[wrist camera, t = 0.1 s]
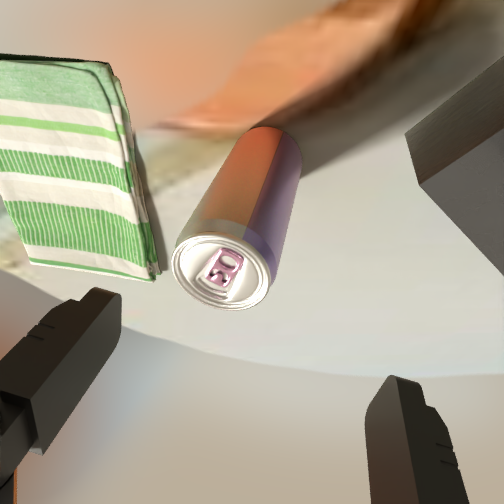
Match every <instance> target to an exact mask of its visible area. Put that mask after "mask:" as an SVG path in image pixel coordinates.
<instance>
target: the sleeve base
mask: <svg viewBox="0 0 504 504" xmlns="http://www.w3.org/2000/svg"><path fill="white" fill-rule="evenodd" d="M405 137H406V141H407V144H408V148H409V151H410V155H411V158H412V162H413V166H414V169H415V173H416V176H417V180H418V183H419V186H420V187H421V188H422V189H423V190H424V191H425V192H426V193H427V194H428V195H429V197H430V198H431V199H432V200H433V201H434V202H435V203H436V204H437V205H438V206H439V207H440V208H441V209H442V210H443V211H444V213H445V214H446V215H447V216H448V217H449V218H450V219H451V220H452V221H453V222H454V223H455V224H456V225H457V226H458V227H459V229H460V230H461V231H462V232H463V233H464V234H465V235H466V236H467V237H468V238H469V239H470V240H471V241H472V242H473V243H474V245H475V246H476V247H477V248H478V249H479V250H480V251H481V252H482V253H483V254H484V255H485V256H486V257H487V258H488V259H489V261H490V262H491V263H492V264H493V265H494V266H495V267H496V268H497V269H498V270H499V271H500V272H501V273H502V274H503V275H504V56H503V57H502V58H501V59H500V60H498V61H497V62H496V63H494V64H493V65H492V66H491V67H489V68H488V69H487V70H486V71H484V72H483V73H482V74H480V75H479V76H478V77H477V78H475V79H474V80H473V81H472V82H470V83H469V84H468V85H466V86H465V87H464V88H463V89H461V90H460V91H459V92H458V93H456V94H455V95H454V96H453V97H451V98H450V99H449V100H447V101H446V102H445V103H444V104H442V105H441V106H440V107H439V108H437V109H436V110H435V111H433V112H432V113H431V114H430V115H428V116H427V117H426V118H425V119H423V120H422V121H421V122H419V123H418V124H417V125H416V126H414V127H413V128H412V129H411V130H409V131H408V132H407V133H405Z"/></svg>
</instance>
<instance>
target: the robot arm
mask: <svg viewBox="0 0 504 504" xmlns="http://www.w3.org/2000/svg"><path fill="white" fill-rule="evenodd" d="M121 308H122V298H121V295H120V294H118V293H114V292H111V291H108V290H104V289H101V288H97V287H94V288H92V289H91V290H89V292H88V293H87V294H86V295H85V296H84V297H83V298H82V299H81V300H80V301H76V300H72V299H70V300H68V301H66V302H64V303H62V304H60V305H58V306H56V307H55V308H53V309H51V310H50V311H49V312H48V313H47V314H46V315H45V316H44V317H43V318H42V319H41V320H40V321H39V323H38V325H35V326H34V327H33V328H32V329H31V330H30V331H29V332H28V333H27V336H26V337H23V338H22V339H21V340H20V341H19V342H18V343H17V344H16V345H15V346H14V347H13V348H12V349H11V350H10V351H9V352H8V353H7V354H6V355H5V356H4V357H3V358H2V359H1V360H0V504H17V466H18V465H19V463H20V462H21V461H22V459H23V458H24V456H25V455H26V454H27V452H28V451H30V452H33V453H36V454H39V455H43V454H44V453H45V452H46V450H47V449H48V447H49V446H50V444H51V443H52V441H53V440H54V438H55V437H56V435H57V434H58V432H59V431H60V429H61V428H62V426H63V425H64V423H65V422H66V421H67V419H68V418H69V416H70V414H71V413H72V412H73V410H74V409H75V407H76V406H77V404H78V403H79V401H80V400H81V398H82V396H83V395H84V394H85V392H86V391H87V389H88V388H89V386H90V385H91V384H92V382H93V380H94V379H95V378H96V376H97V374H98V373H99V372H100V370H101V369H102V367H103V366H104V364H105V363H106V361H107V360H108V358H109V357H110V355H111V354H112V352H113V351H114V349H115V347H116V345H117V343H118V341H119V338H120V333H121ZM365 436H366V448H367V459H368V471H369V482H370V495H371V504H469V500H468V497H467V493H466V490H465V487H464V483H463V480H462V476H461V473H460V470H458V463H457V459H456V456H455V453H454V452H453V445H452V442H451V439H450V435H449V432H448V428H447V426H446V425H445V423H444V422H443V420H442V419H441V417H440V415H439V414H438V412H437V411H436V409H435V408H433V407H430V406H427V405H426V403H425V399H424V395H423V391H422V387H421V386H420V384H419V383H417V382H414V381H411V380H407V379H404V378H400V377H397V376H394V375H390V376H388V377H387V379H386V380H385V382H384V383H383V385H382V386H381V388H380V389H379V391H378V392H377V394H376V396H375V397H374V398H373V400H372V401H371V403H370V404H369V407H368V409H367V412H366V416H365Z"/></svg>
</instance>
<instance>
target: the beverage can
mask: <svg viewBox="0 0 504 504" xmlns="http://www.w3.org/2000/svg"><path fill="white" fill-rule="evenodd" d="M301 170H302V155H301V151H300V149H299V147H298V145H297V144H296V142H295V141H294V140H293V139H292V138H291V137H290V136H289V135H288V134H286V133H285V132H283V131H281V130H279V129H276V128H272V127H258V128H254V129H251V130H249V131H247V132H246V133H244V134H243V135H242V136H241V137H240V138H239V139H238V141H237V142H236V144H235V146H234V147H233V149H232V151H231V152H230V154H229V155H228V157H227V159H226V160H225V162H224V164H223V165H222V167H221V168H220V170H219V172H218V173H217V175H216V177H215V178H214V180H213V181H212V183H211V185H210V186H209V188H208V190H207V191H206V193H205V194H204V196H203V198H202V199H201V201H200V203H199V204H198V206H197V207H196V209H195V211H194V212H193V214H192V216H191V217H190V219H189V220H188V222H187V224H186V225H185V227H184V228H183V230H182V232H181V233H180V235H179V237H178V239H177V242H176V247H175V250H174V252H173V255H172V262H171V264H172V270H173V274H174V276H175V278H176V280H177V282H178V283H179V285H180V286H181V287H182V288H183V289H184V291H186V292H187V293H188V294H189V295H190V296H191V297H193V298H194V299H196V300H197V301H199V302H201V303H203V304H205V305H208V306H210V307H213V308H217V309H221V310H230V311H235V310H244V309H248V308H251V307H253V306H255V305H257V304H258V303H260V302H261V301H262V300H263V299H264V298H265V296H266V295H267V293H268V291H269V288H270V286H271V285H272V284H273V282H274V280H275V278H276V274H277V270H278V266H279V262H280V257H281V253H282V249H283V245H284V241H285V237H286V232H287V228H288V224H289V220H290V216H291V212H292V207H293V203H294V199H295V195H296V191H297V187H298V182H299V178H300V174H301Z"/></svg>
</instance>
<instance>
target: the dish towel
mask: <svg viewBox="0 0 504 504" xmlns="http://www.w3.org/2000/svg"><path fill="white" fill-rule="evenodd" d="M0 194H1V195H2V198H3V201H4V204H5V206H6V208H7V210H8V213H9V215H10V217H11V220H12V221H13V223H14V225H15V227H16V229H17V232H18V234H19V236H20V238H21V240H22V242H23V244H24V247H25V249H26V251H27V253H28V256H29V260H30V263H31V264H34V265H40V266H51V267H58V268H64V269H71V270H77V271H83V272H90V273H96V274H102V275H109V276H116V277H121V278H126V279H131V280H139V281H144V282H150V283H153V282H154V281H155V280H156V275H161V272H160V270H159V267H158V261H157V255H156V249H155V245H154V241H153V234H152V231H151V228H150V225H149V219H148V215H147V211H146V206H145V201H144V195H143V188H142V183H141V179H140V176H139V174H138V171H137V165H136V161H135V153H134V141H133V136H132V129H131V123H130V116H129V111H128V108H127V104H126V101H125V97H124V94H123V91H122V87H121V83H120V80H119V79H118V78H117V77H116V76H114V73H113V70H112V68H111V66H110V64H109V63H108V62H102V61H91V60H83V59H74V58H60V57H46V56H37V55H16V54H4V53H0Z"/></svg>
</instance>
